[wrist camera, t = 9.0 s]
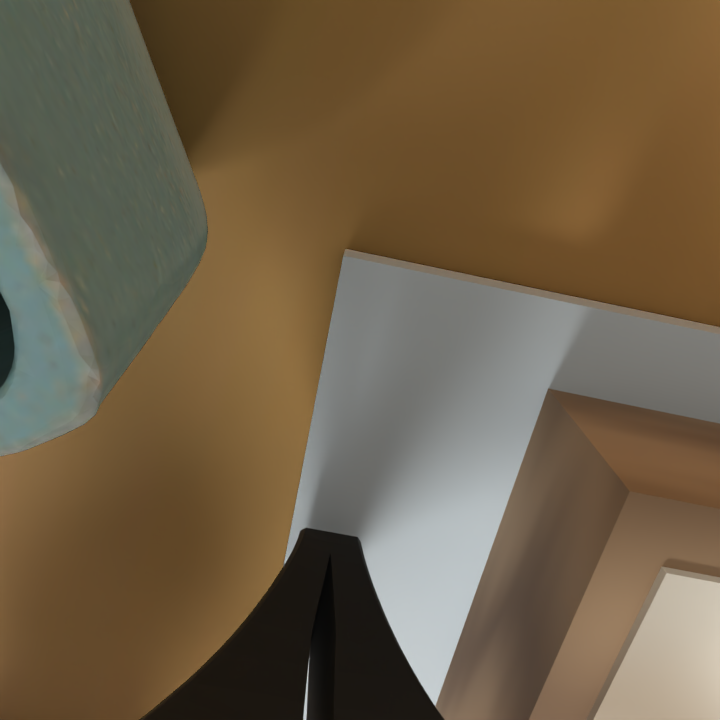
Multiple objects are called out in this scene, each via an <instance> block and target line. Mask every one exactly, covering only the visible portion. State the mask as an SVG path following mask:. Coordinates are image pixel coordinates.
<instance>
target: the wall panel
mask: <svg viewBox="0 0 720 720" xmlns="http://www.w3.org/2000/svg"><path fill="white" fill-rule="evenodd" d="M548 389H553V390H558V391H563V392H568V393H573V394H578V395H583V396H587V397H592V398H597V399H602V400H607V401H612V402H617V403H622V404H627V405H631V406H636V407H641V408H646V409H651V410H656V411H661V412H666V413H671V414H676V415H680V416H685V417H690V418H695V419H700V420H705V421H710V422H715V423H720V327H717V326H713V325H708V324H703V323H698V322H693V321H689V320H684V319H679V318H674V317H670V316H665V315H660V314H655V313H650V312H646V311H641V310H636V309H631V308H627V307H622V306H617V305H612V304H607V303H603V302H598V301H593V300H588V299H584V298H579V297H574V296H569V295H564V294H560V293H555V292H550V291H545V290H541V289H536V288H531V287H526V286H521V285H517V284H512V283H507V282H502V281H498V280H493V279H488V278H483V277H478V276H474V275H469V274H464V273H459V272H455V271H450V270H445V269H440V268H435V267H431V266H426V265H421V264H416V263H412V262H407V261H402V260H397V259H392V258H388V257H383V256H378V255H373V254H369V253H364V252H359V251H354V250H349V249H345V252H344V255H343V260H342V265H341V270H340V275H339V280H338V286H337V291H336V296H335V301H334V306H333V312H332V317H331V322H330V327H329V332H328V337H327V343H326V348H325V353H324V358H323V363H322V369H321V374H320V379H319V384H318V389H317V395H316V400H315V405H314V410H313V415H312V420H311V426H310V431H309V436H308V441H307V446H306V452H305V457H304V462H303V467H302V472H301V478H300V483H299V488H298V493H297V498H296V503H295V509H294V514H293V519H292V524H291V529H290V535H289V540H288V545H287V550H286V555H285V561H284V565H285V563H286V561H287V560H288V558H289V556H290V554H291V552H292V550H293V548H294V546H295V544H296V542H297V539H298V536H299V533H300V531H301V530H302V529H304V528H311V529H317V530H322V531H328V532H333V533H339V534H344V535H350V536H356V537H358V538H359V540H360V541H361V545H362V549H363V553H364V557H365V561H366V564H367V567H368V571H369V574H370V577H371V580H372V582H373V585H374V588H375V591H376V593H377V596H378V598H379V601H380V603H381V606H382V608H383V611H384V613H385V615H386V618H387V620H388V622H389V624H390V627H391V629H392V631H393V633H394V635H395V637H396V639H397V641H398V643H399V645H400V647H401V649H402V651H403V653H404V655H405V657H406V659H407V661H408V662H409V664H410V666H411V668H412V669H413V671H414V673H415V675H416V676H417V678H418V680H419V682H420V683H421V685H422V686H423V688H424V690H425V691H426V693H427V694H428V696H429V698H430V699H431V701H432V702H433V704H434V705H436V703H437V700H438V697H439V694H440V691H441V689H442V686H443V683H444V680H445V677H446V674H447V672H448V669H449V666H450V663H451V660H452V658H453V655H454V652H455V649H456V646H457V644H458V641H459V638H460V635H461V632H462V629H463V627H464V624H465V621H466V618H467V615H468V613H469V610H470V607H471V604H472V601H473V598H474V596H475V593H476V590H477V587H478V584H479V582H480V579H481V576H482V573H483V570H484V568H485V565H486V562H487V559H488V556H489V553H490V551H491V548H492V545H493V542H494V539H495V537H496V534H497V531H498V528H499V525H500V522H501V520H502V517H503V514H504V511H505V508H506V506H507V503H508V500H509V497H510V494H511V492H512V489H513V486H514V483H515V480H516V477H517V475H518V472H519V469H520V466H521V463H522V461H523V458H524V455H525V452H526V449H527V446H528V444H529V441H530V438H531V435H532V432H533V430H534V427H535V424H536V421H537V418H538V416H539V413H540V410H541V407H542V404H543V401H544V399H545V396H546V393H547V390H548ZM308 674H309V663H308V673H307V683H306V694H305V704H304V716H303V720H306V717H307V695H308Z"/></svg>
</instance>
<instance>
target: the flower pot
mask: <svg viewBox="0 0 720 720" xmlns="http://www.w3.org/2000/svg"><path fill="white" fill-rule="evenodd" d="M207 234H208V226H207V216H206V211H205V207H204V203H203V199H202V196H201V193H200V190H199V187H198V184H197V181H196V179H195V176H194V173H193V171H192V168H191V165H190V163H189V160H188V157H187V155H186V152H185V149H184V147H183V144H182V141H181V139H180V136H179V133H178V131H177V128H176V126H175V123H174V120H173V117H172V115H171V112H170V109H169V107H168V104H167V101H166V99H165V96H164V93H163V90H162V88H161V85H160V82H159V80H158V77H157V74H156V71H155V69H154V66H153V63H152V61H151V58H150V55H149V53H148V50H147V47H146V44H145V42H144V39H143V36H142V34H141V31H140V28H139V25H138V23H137V20H136V17H135V15H134V12H133V9H132V6H131V4H130V1H129V0H0V456H4V455H8V454H13V453H17V452H21V451H24V450H27V449H30V448H32V447H35V446H37V445H40V444H42V443H44V442H47V441H49V440H52V439H54V438H57V437H59V436H62V435H64V434H66V433H68V432H70V431H72V430H74V429H76V428H78V427H80V426H82V425H84V424H85V423H86V422H87V421H89V420H90V419H91V418H92V417H93V416H95V415H96V413H97V411H98V408H99V406H100V404H101V403H102V401H103V400H104V399H105V397H106V396H107V395H108V393H109V392H110V391H111V389H112V388H113V387H114V385H115V384H116V383H117V381H118V380H119V378H120V377H121V376H122V374H123V373H124V372H125V370H126V369H127V368H128V366H129V365H130V364H131V362H132V361H133V360H134V358H135V357H136V355H137V354H138V353H139V351H140V350H141V349H142V347H143V346H144V344H145V343H146V342H147V340H148V339H149V338H150V336H151V335H152V333H153V332H154V330H155V328H156V327H157V325H158V324H159V323H160V322H161V321H162V319H163V318H164V316H165V315H166V313H167V312H168V311H169V309H170V308H171V307H172V305H173V303H174V302H175V300H176V299H177V298H178V297H179V295H180V294H181V292H182V291H183V289H184V288H185V286H186V285H187V283H188V282H189V280H190V278H191V277H192V275H193V273H194V272H195V270H196V268H197V267H198V265H199V263H200V261H201V258H202V256H203V253H204V251H205V248H206V243H207Z"/></svg>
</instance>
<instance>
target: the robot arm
mask: <svg viewBox="0 0 720 720" xmlns="http://www.w3.org/2000/svg"><path fill="white" fill-rule="evenodd" d="M308 663H309V674H308V695H307V717H306V720H445V719H444V718H443V717H442V715H441V714H440V712H439V711H438V710H437V708H436V707H435V705H434V704H433V702H432V701H431V699H430V698H429V696H428V694H427V693H426V691H425V690H424V688H423V686H422V685H421V683H420V682H419V680H418V678H417V676H416V675H415V673H414V671H413V669H412V668H411V666H410V664H409V662H408V661H407V659H406V657H405V655H404V653H403V651H402V649H401V647H400V645H399V643H398V641H397V639H396V637H395V635H394V633H393V631H392V629H391V627H390V624H389V622H388V620H387V618H386V615H385V613H384V611H383V608H382V606H381V603H380V601H379V598H378V596H377V593H376V591H375V588H374V585H373V582H372V580H371V577H370V574H369V571H368V567H367V564H366V561H365V557H364V553H363V549H362V545H361V541H360V540H359V538H358V537H356V536H350V535H344V534H339V533H333V532H328V531H322V530H317V529H311V528H304V529H302V530H301V531H300V533H299V536H298V539H297V542H296V544H295V546H294V548H293V550H292V552H291V554H290V556H289V558H288V560H287V561H286V563H285V565H284V566H283V568H282V570H281V571H280V573H279V574H278V576H277V577H276V579H275V580H274V582H273V584H272V585H271V587H270V588H269V589H268V591H267V592H266V594H265V595H264V596H263V598H262V599H261V600H260V601H259V603H258V604H257V605H256V607H255V608H254V609H253V611H252V612H251V613H250V615H249V616H248V617H247V618H246V620H245V621H244V622H243V623H242V624H241V626H240V627H239V628H238V629H237V630H236V631H235V632H234V634H233V635H232V636H231V637H230V638H229V639H228V640H227V641H226V642H225V643H224V645H223V646H222V647H221V648H220V649H219V650H218V651H217V652H216V653H215V654H214V655H213V656H212V657H211V658H210V659H209V660H208V661H207V662H206V663H205V664H204V665H203V666H202V667H201V668H200V669H199V670H198V671H197V672H195V673H194V674H193V675H192V676H191V677H190V678H189V679H188V680H187V681H186V682H185V683H183V684H182V685H181V686H180V687H179V688H177V689H176V690H175V691H174V692H173V693H172V694H170V695H169V696H168V697H167V698H166V699H164V700H163V701H162V702H161V703H160V704H159V705H157V706H156V707H155V708H154V709H153V710H151V711H150V712H149V713H147V714H146V715H145V716H144V717H142V718H141V719H140V720H303V716H304V704H305V694H306V683H307V673H308Z"/></svg>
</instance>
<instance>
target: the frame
mask: <svg viewBox="0 0 720 720" xmlns="http://www.w3.org/2000/svg"><path fill="white" fill-rule="evenodd" d="M435 707H436V708H437V710H438V711H439V712H440V714H441V715H442V717H443V718H444V719H445V720H720V423H715V422H710V421H705V420H700V419H695V418H690V417H685V416H680V415H676V414H671V413H666V412H661V411H656V410H651V409H646V408H641V407H636V406H631V405H627V404H622V403H617V402H612V401H607V400H602V399H597V398H592V397H587V396H583V395H578V394H573V393H568V392H563V391H558V390H553V389H548V390H547V393H546V396H545V399H544V401H543V404H542V407H541V410H540V413H539V416H538V418H537V421H536V424H535V427H534V430H533V432H532V435H531V438H530V441H529V444H528V446H527V449H526V452H525V455H524V458H523V461H522V463H521V466H520V469H519V472H518V475H517V477H516V480H515V483H514V486H513V489H512V492H511V494H510V497H509V500H508V503H507V506H506V508H505V511H504V514H503V517H502V520H501V522H500V525H499V528H498V531H497V534H496V537H495V539H494V542H493V545H492V548H491V551H490V553H489V556H488V559H487V562H486V565H485V568H484V570H483V573H482V576H481V579H480V582H479V584H478V587H477V590H476V593H475V596H474V598H473V601H472V604H471V607H470V610H469V613H468V615H467V618H466V621H465V624H464V627H463V629H462V632H461V635H460V638H459V641H458V644H457V646H456V649H455V652H454V655H453V658H452V660H451V663H450V666H449V669H448V672H447V674H446V677H445V680H444V683H443V686H442V689H441V691H440V694H439V697H438V700H437V703H436V705H435Z"/></svg>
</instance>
